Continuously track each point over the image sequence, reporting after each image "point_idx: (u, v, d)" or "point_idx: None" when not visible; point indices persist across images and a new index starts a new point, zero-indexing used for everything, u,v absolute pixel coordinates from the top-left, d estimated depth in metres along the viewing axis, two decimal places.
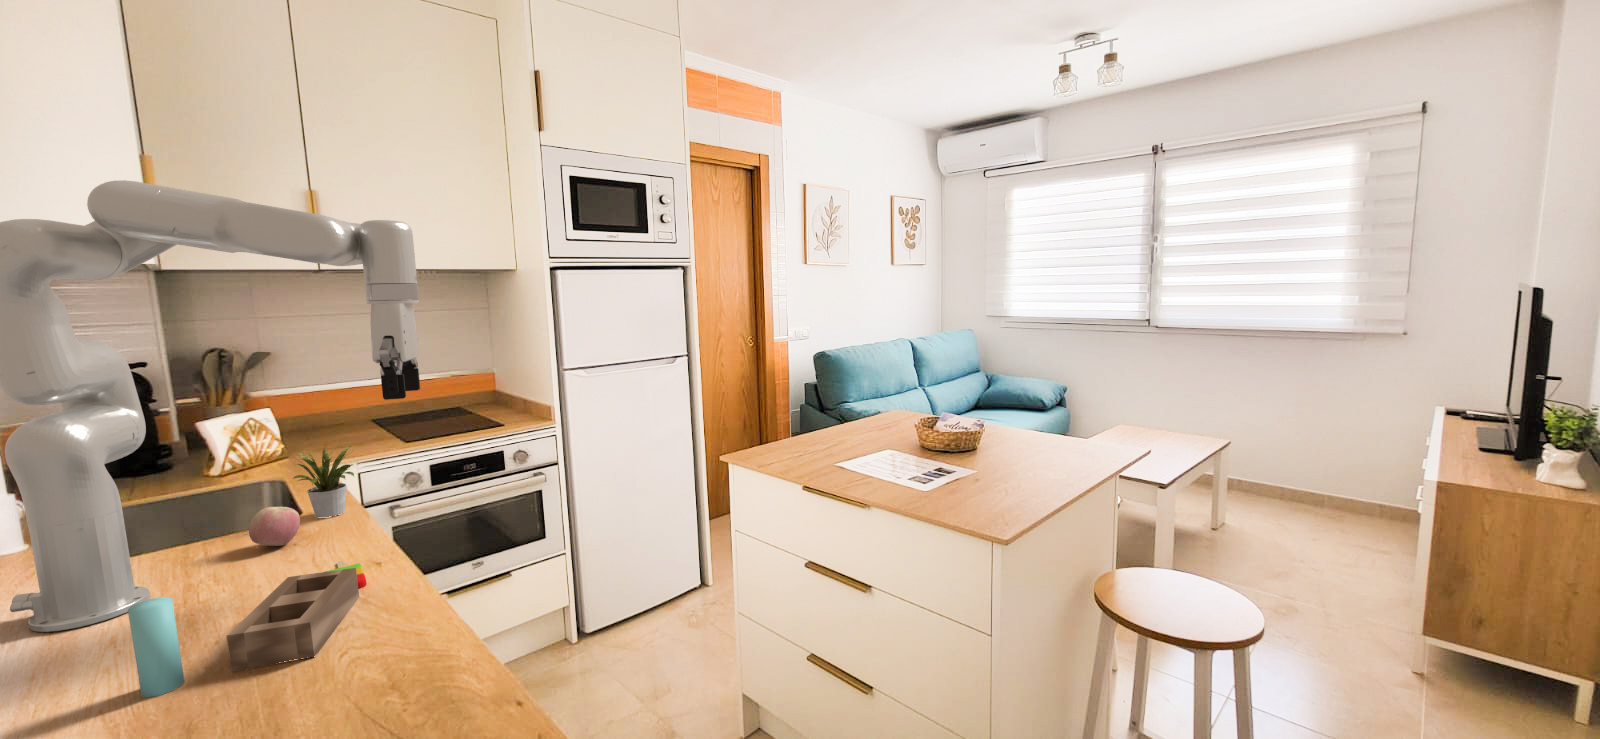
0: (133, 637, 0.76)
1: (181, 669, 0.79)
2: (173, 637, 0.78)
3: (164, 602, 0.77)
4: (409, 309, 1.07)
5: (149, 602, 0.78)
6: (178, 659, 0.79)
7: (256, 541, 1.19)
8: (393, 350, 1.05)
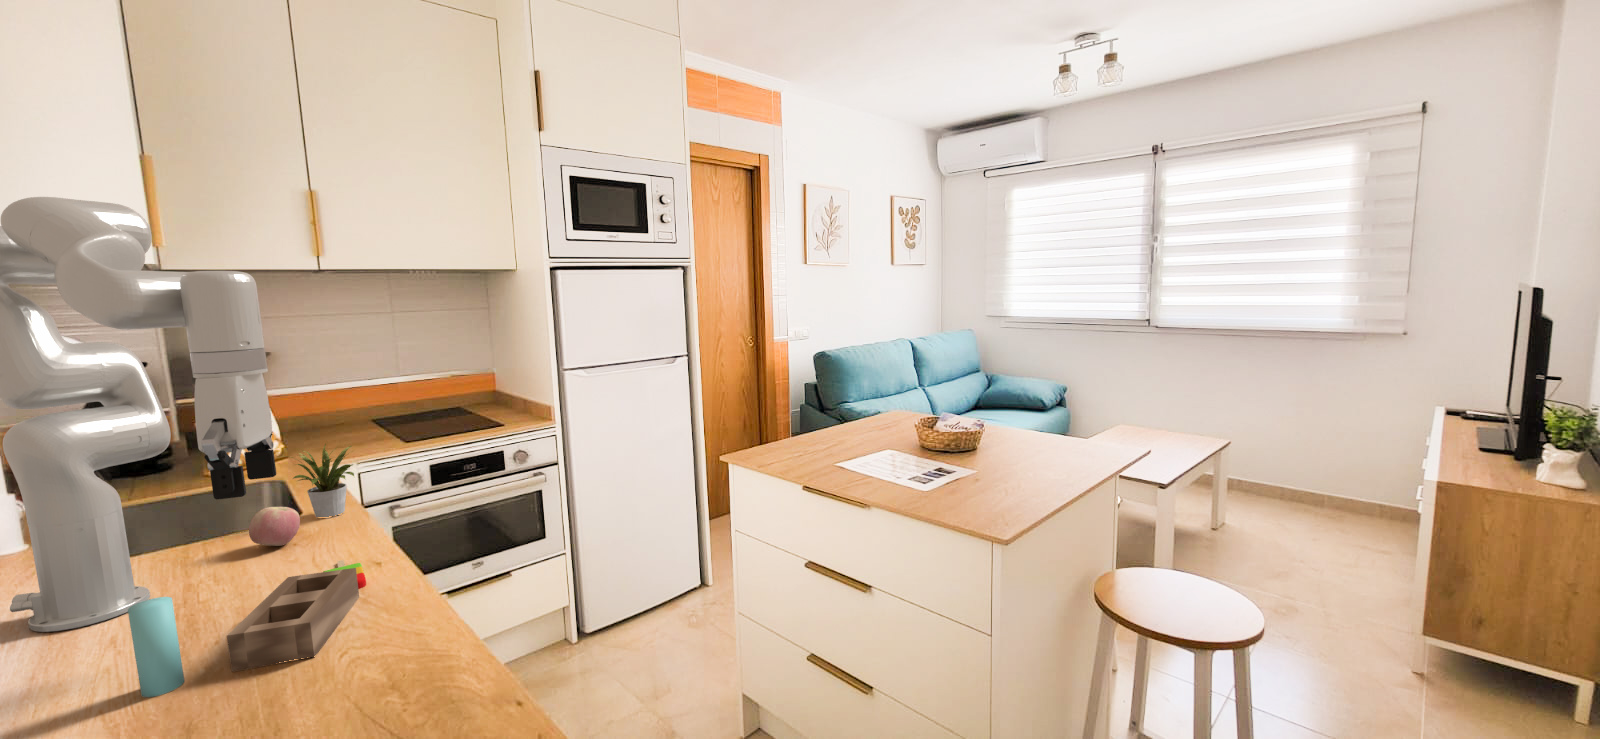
0: (133, 637, 0.76)
1: (181, 669, 0.79)
2: (173, 637, 0.78)
3: (164, 602, 0.77)
4: (252, 381, 0.85)
5: (149, 602, 0.78)
6: (178, 659, 0.79)
7: (256, 541, 1.19)
8: (228, 435, 0.83)
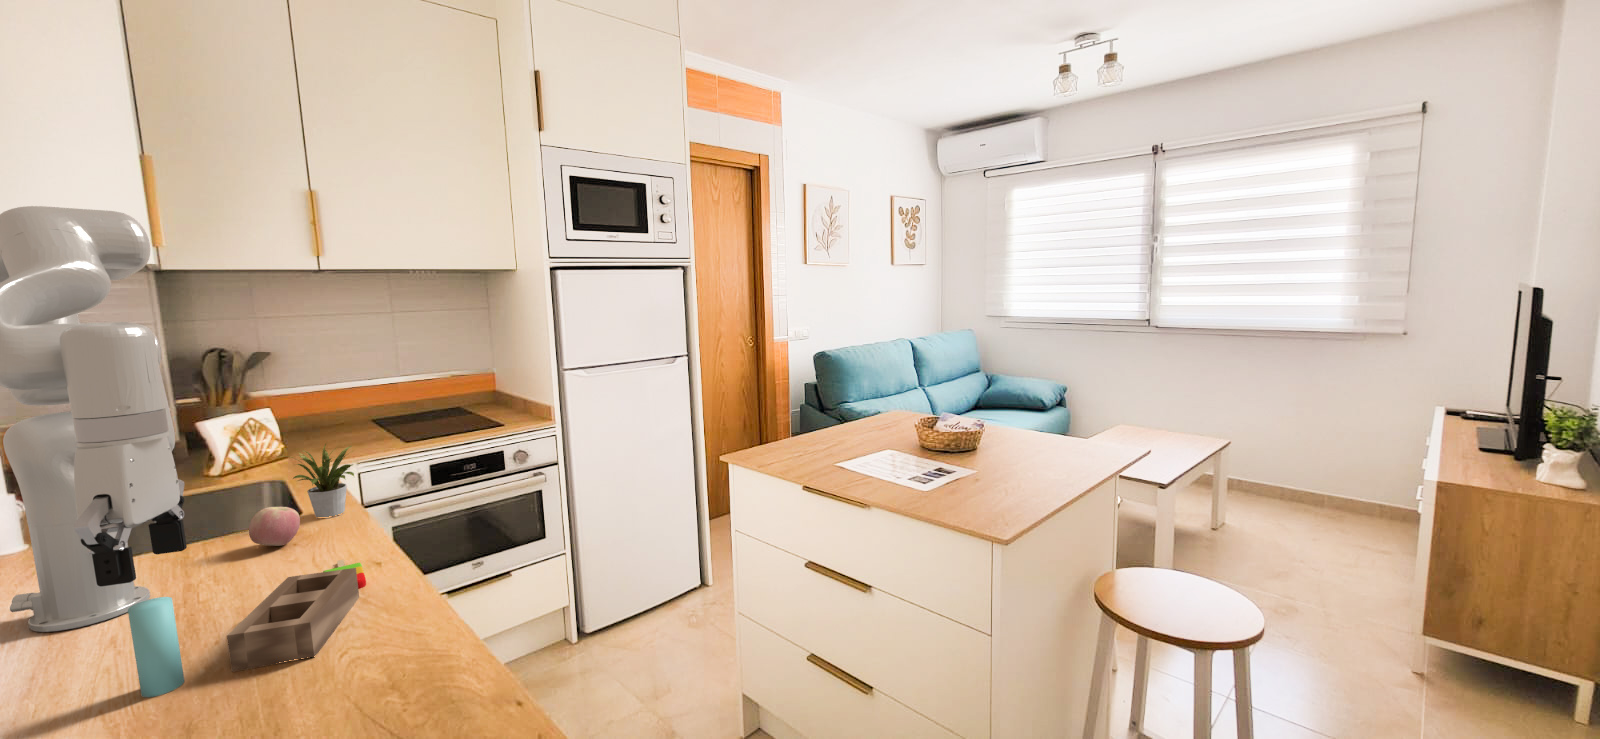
0: (133, 637, 0.76)
1: (181, 669, 0.79)
2: (173, 637, 0.78)
3: (164, 602, 0.77)
4: (147, 448, 0.75)
5: (149, 602, 0.78)
6: (178, 659, 0.79)
7: (256, 541, 1.19)
8: None
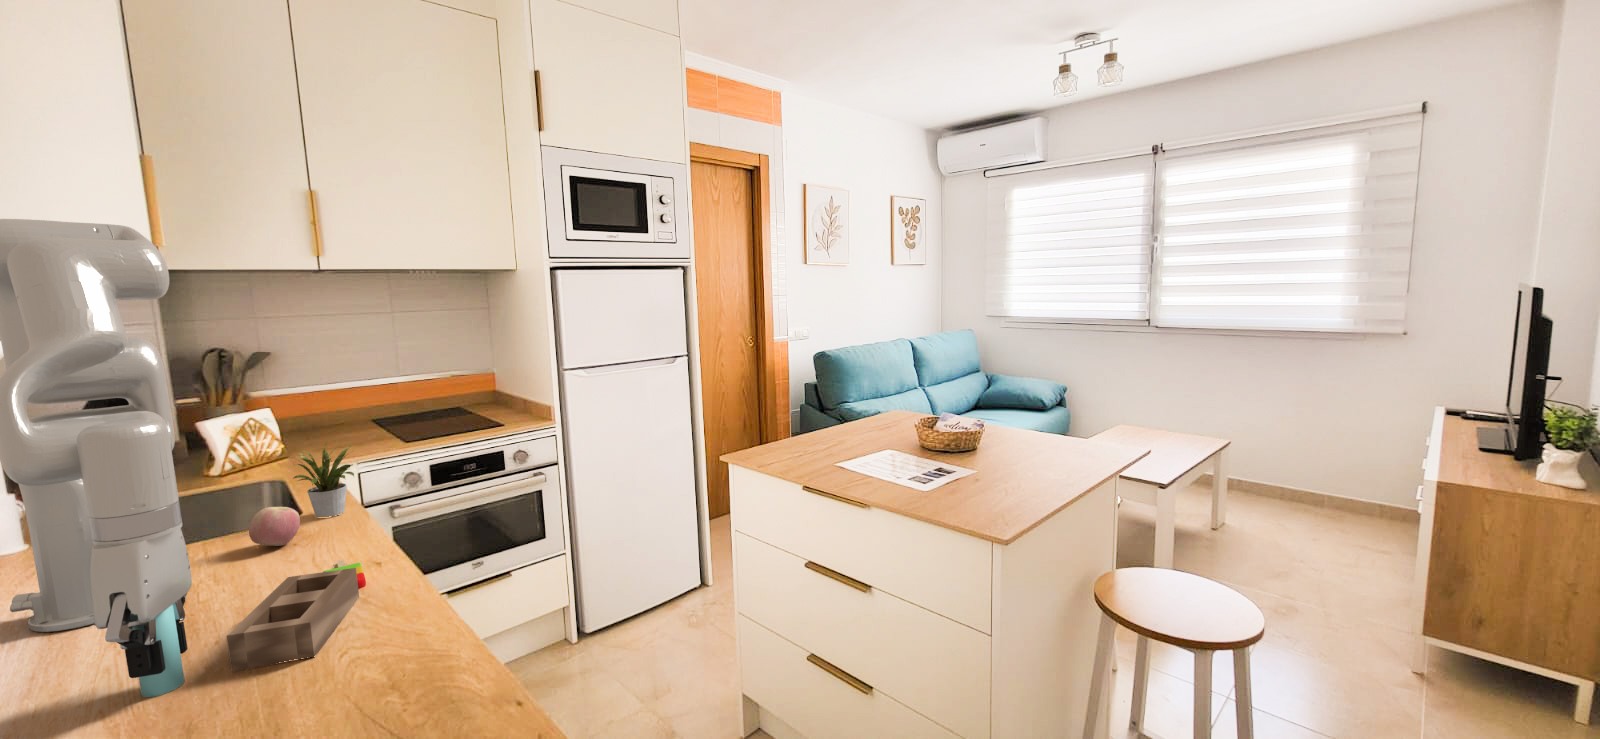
0: None
1: (181, 669, 0.79)
2: (173, 637, 0.78)
3: None
4: (161, 541, 0.76)
5: None
6: (178, 659, 0.79)
7: (256, 541, 1.19)
8: None
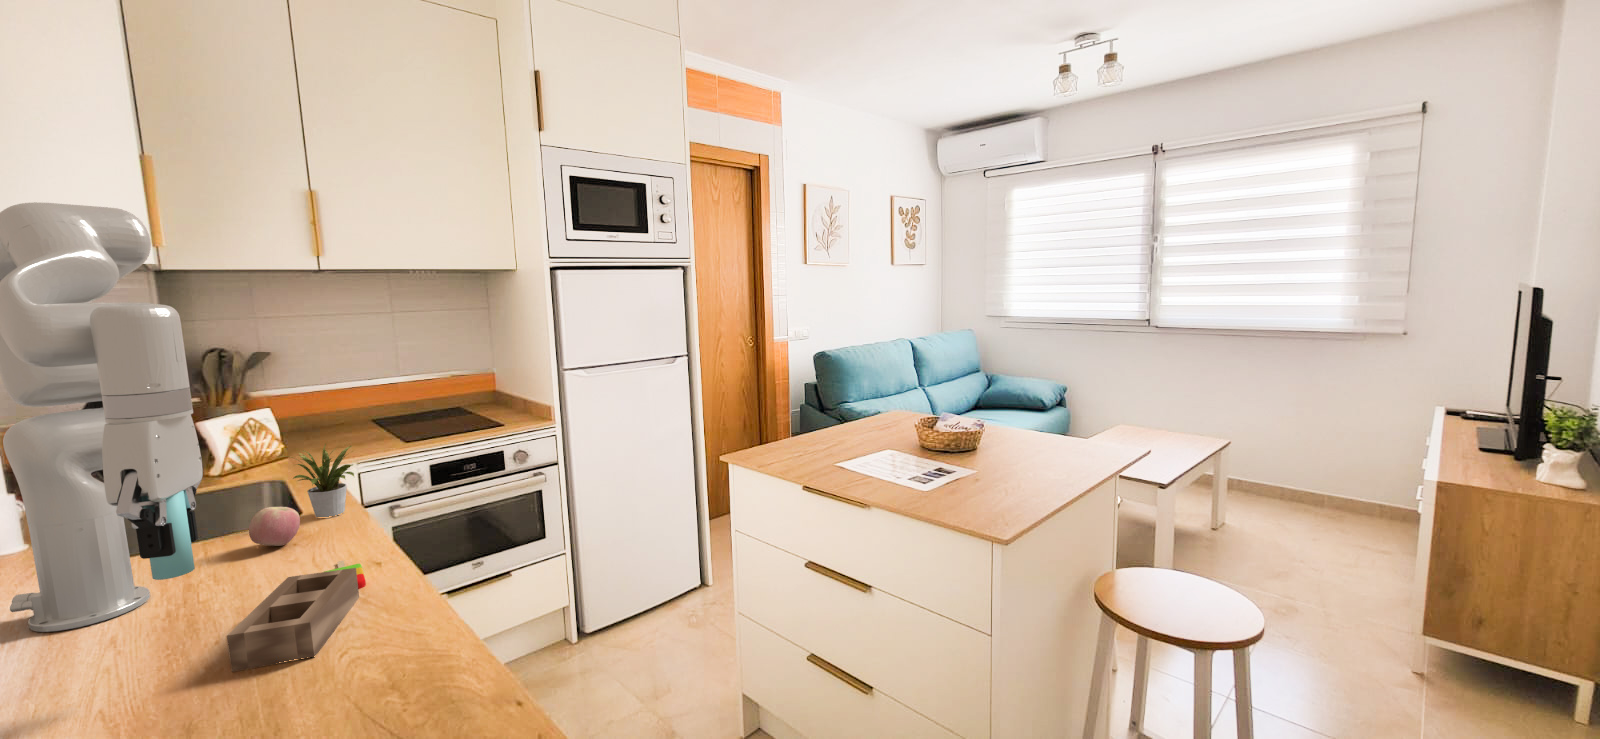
0: None
1: (191, 556, 0.80)
2: (184, 523, 0.79)
3: None
4: (172, 425, 0.77)
5: None
6: (188, 545, 0.79)
7: (256, 541, 1.19)
8: None
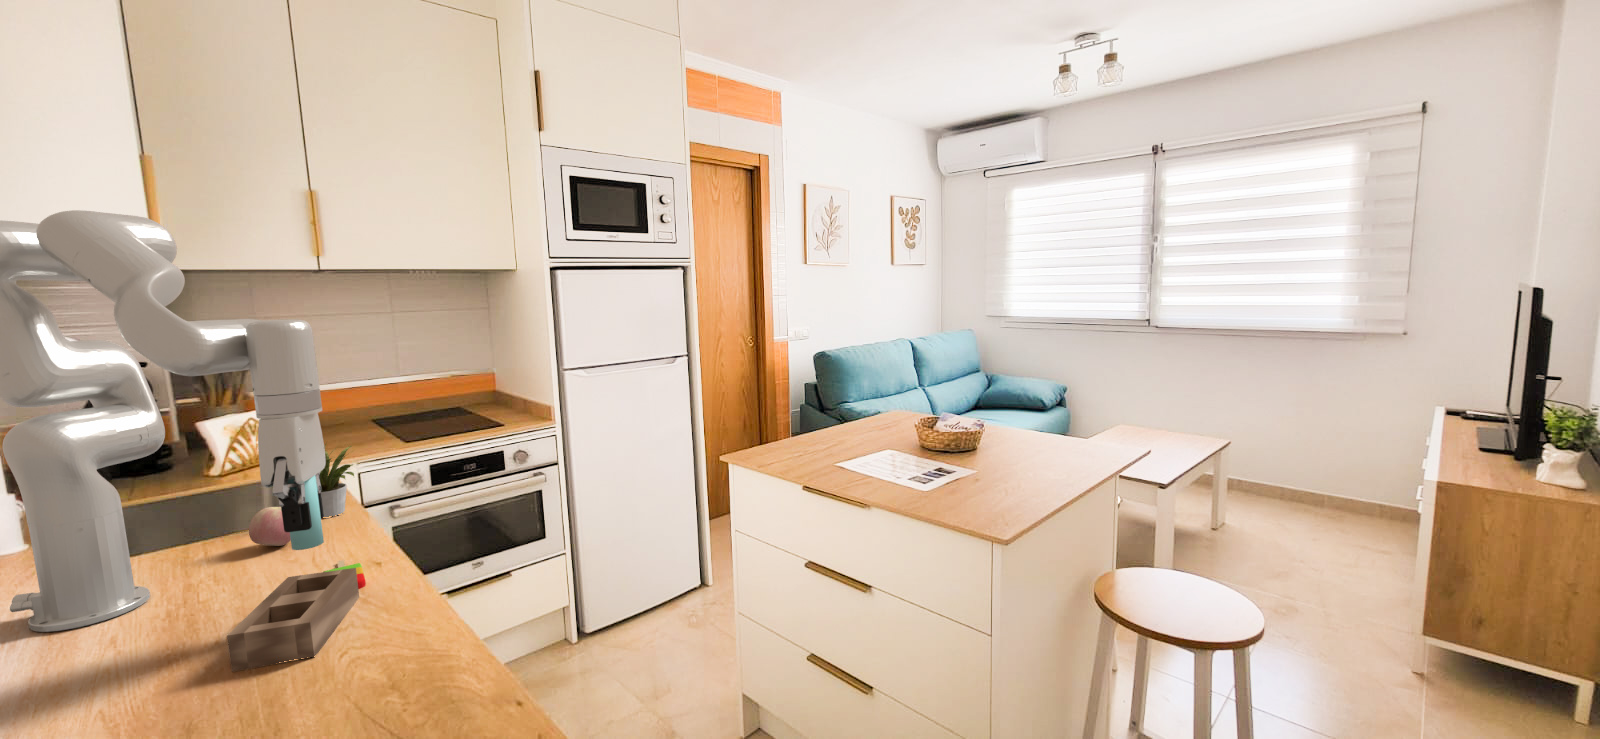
0: None
1: None
2: (317, 502, 0.94)
3: None
4: (308, 420, 0.92)
5: None
6: (320, 521, 0.94)
7: (256, 541, 1.19)
8: None
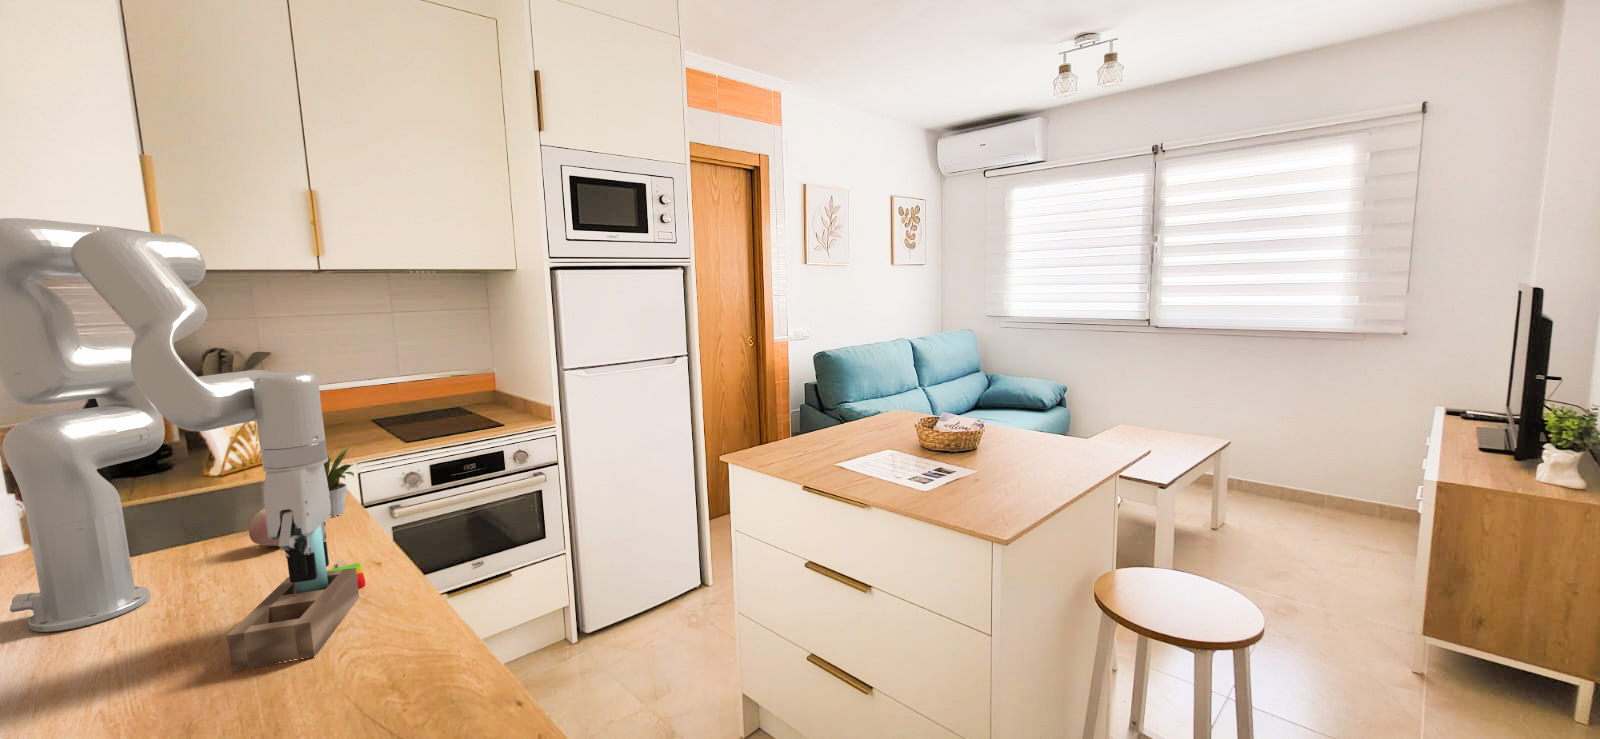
0: None
1: (327, 579, 0.96)
2: (322, 552, 0.95)
3: None
4: (314, 471, 0.93)
5: None
6: (325, 570, 0.95)
7: (256, 541, 1.19)
8: None
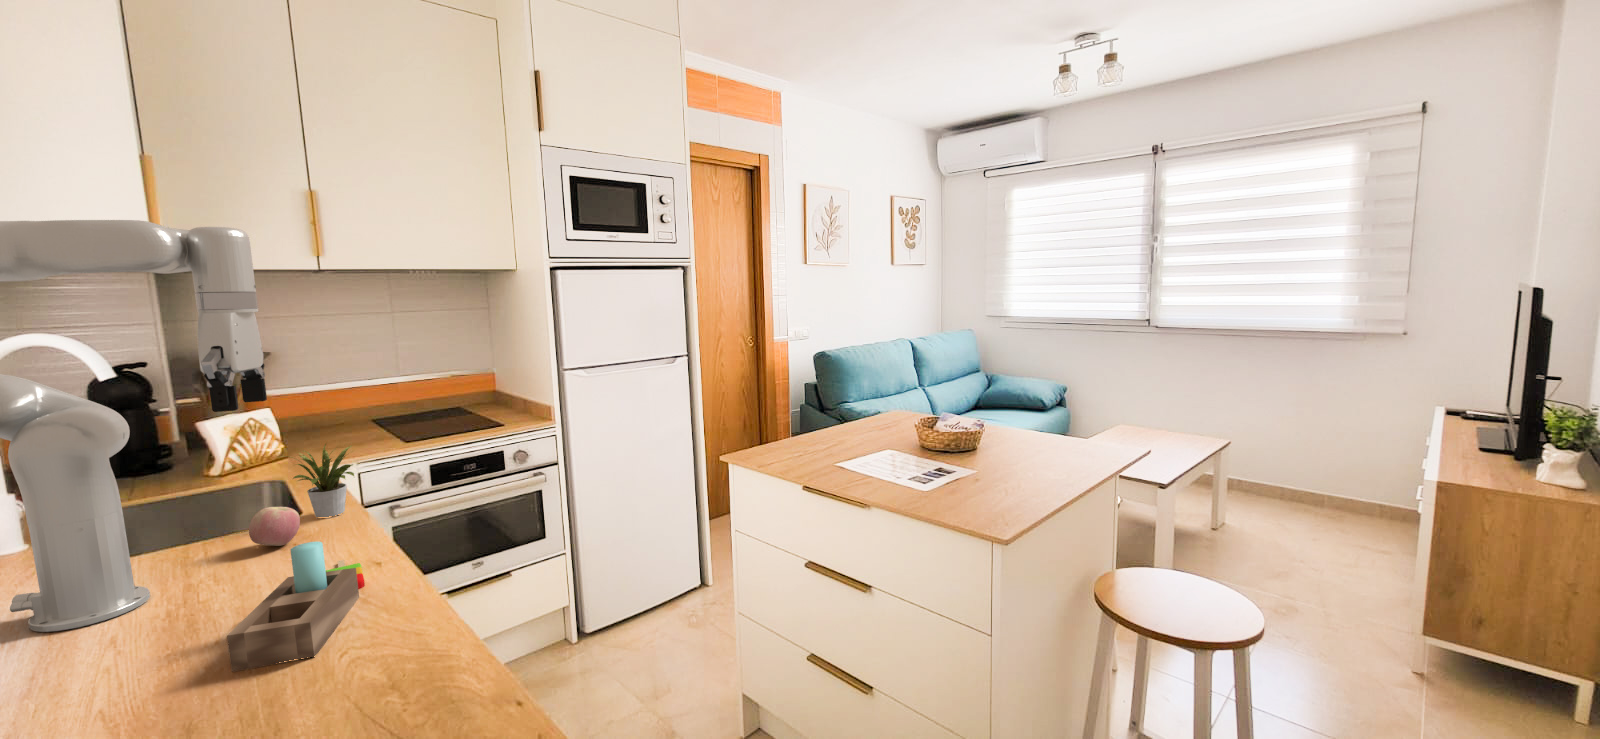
0: (295, 573, 0.93)
1: None
2: (324, 574, 0.95)
3: (317, 545, 0.95)
4: (245, 318, 1.04)
5: (305, 545, 0.95)
6: None
7: (256, 541, 1.19)
8: (225, 361, 1.02)
